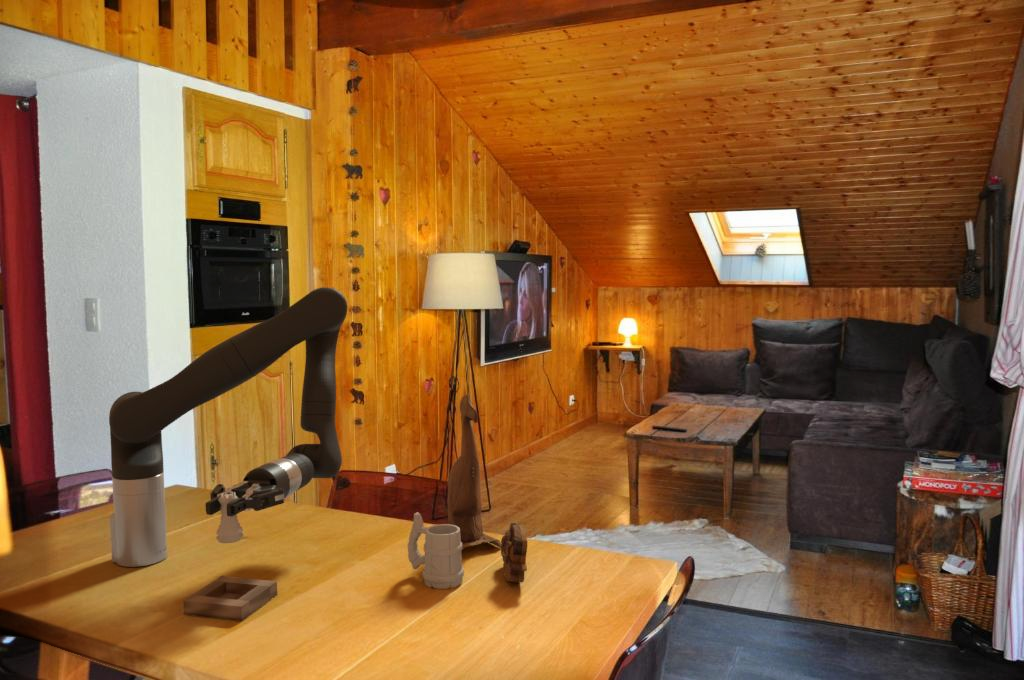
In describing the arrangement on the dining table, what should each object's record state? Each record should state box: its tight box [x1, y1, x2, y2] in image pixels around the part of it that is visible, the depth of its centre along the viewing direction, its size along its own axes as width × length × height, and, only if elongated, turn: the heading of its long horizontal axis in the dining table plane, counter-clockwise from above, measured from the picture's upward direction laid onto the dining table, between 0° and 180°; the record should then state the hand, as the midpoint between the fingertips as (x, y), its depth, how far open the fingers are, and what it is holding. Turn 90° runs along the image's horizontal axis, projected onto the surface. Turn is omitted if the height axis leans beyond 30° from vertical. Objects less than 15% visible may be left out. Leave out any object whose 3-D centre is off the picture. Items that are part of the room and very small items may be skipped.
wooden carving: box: [500, 522, 528, 583], centre depth 150 cm, size 16×5×10 cm, turn 12°
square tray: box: [182, 575, 278, 622], centre depth 139 cm, size 11×11×2 cm
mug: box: [407, 511, 465, 590], centre depth 150 cm, size 8×12×12 cm, turn 59°
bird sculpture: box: [447, 394, 501, 550], centre depth 166 cm, size 11×12×32 cm
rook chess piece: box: [215, 492, 244, 544], centre depth 138 cm, size 4×4×8 cm
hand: (218, 509), depth 135 cm, fingers closed on rook chess piece, 3 cm apart
